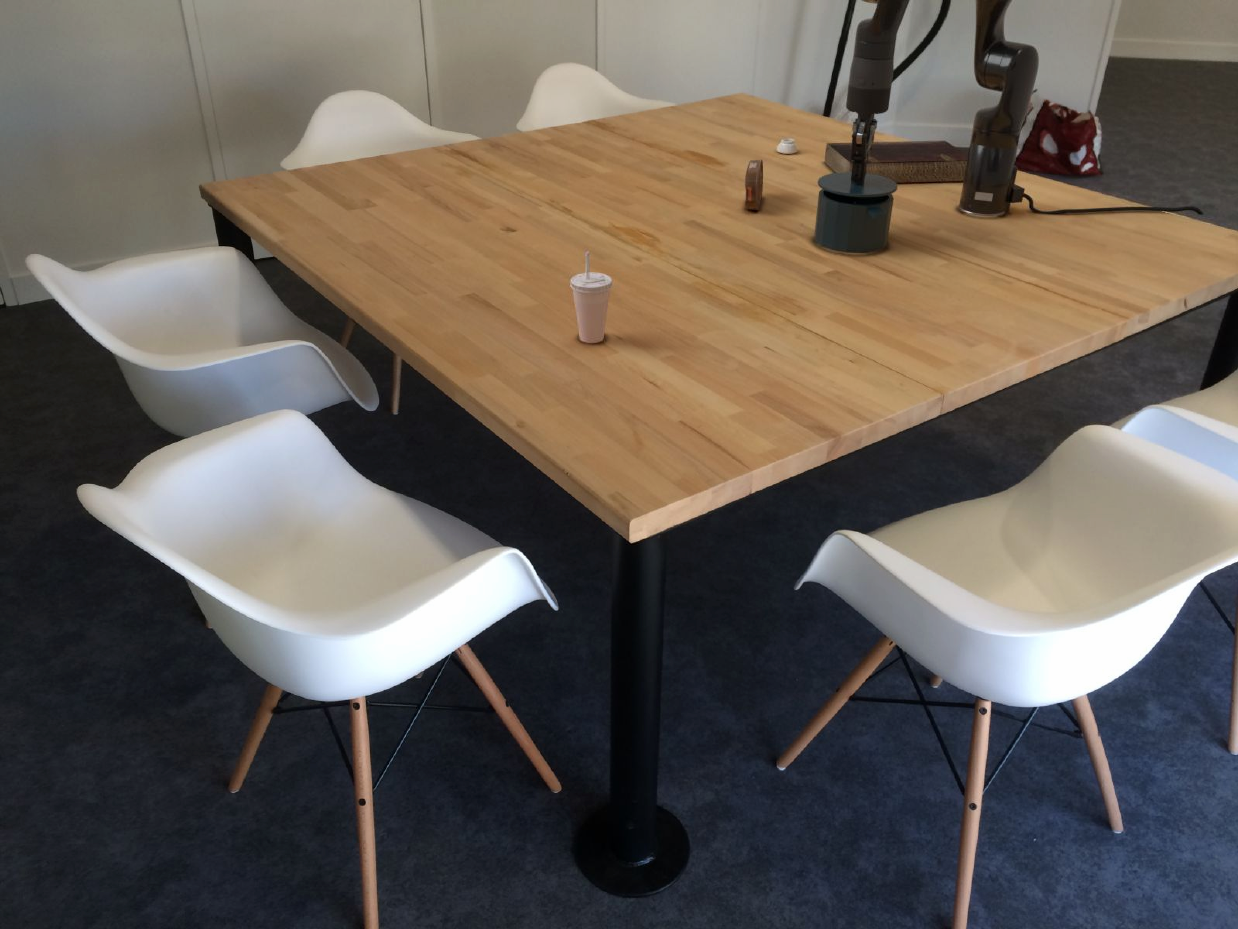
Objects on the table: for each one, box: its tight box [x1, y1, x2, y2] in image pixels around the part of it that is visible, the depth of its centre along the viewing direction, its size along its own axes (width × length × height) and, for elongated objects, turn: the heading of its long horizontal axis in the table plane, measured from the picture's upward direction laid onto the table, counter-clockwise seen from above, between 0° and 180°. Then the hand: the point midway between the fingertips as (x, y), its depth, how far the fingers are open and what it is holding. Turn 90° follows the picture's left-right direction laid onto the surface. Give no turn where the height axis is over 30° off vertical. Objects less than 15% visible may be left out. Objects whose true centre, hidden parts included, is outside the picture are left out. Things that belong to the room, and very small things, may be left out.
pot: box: [813, 188, 894, 254], centre depth 202 cm, size 14×19×10 cm
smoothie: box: [570, 251, 613, 344], centre depth 162 cm, size 6×6×14 cm
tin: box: [744, 159, 764, 211], centre depth 223 cm, size 15×3×8 cm, turn 168°
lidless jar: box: [776, 138, 798, 155], centre depth 260 cm, size 5×3×5 cm
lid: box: [817, 161, 898, 197], centre depth 197 cm, size 15×15×6 cm
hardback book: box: [824, 140, 968, 183], centre depth 245 cm, size 29×19×5 cm, turn 97°
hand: (858, 179), depth 198 cm, fingers closed on lid, 2 cm apart
